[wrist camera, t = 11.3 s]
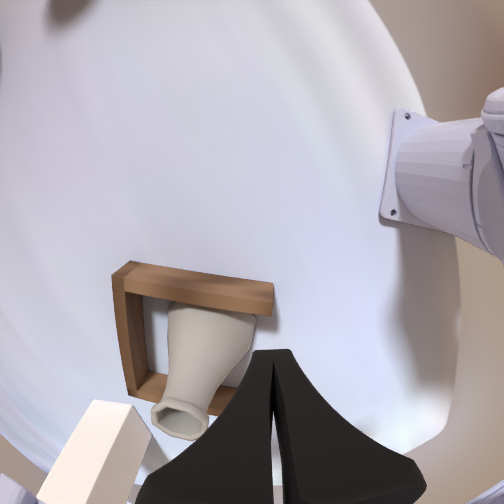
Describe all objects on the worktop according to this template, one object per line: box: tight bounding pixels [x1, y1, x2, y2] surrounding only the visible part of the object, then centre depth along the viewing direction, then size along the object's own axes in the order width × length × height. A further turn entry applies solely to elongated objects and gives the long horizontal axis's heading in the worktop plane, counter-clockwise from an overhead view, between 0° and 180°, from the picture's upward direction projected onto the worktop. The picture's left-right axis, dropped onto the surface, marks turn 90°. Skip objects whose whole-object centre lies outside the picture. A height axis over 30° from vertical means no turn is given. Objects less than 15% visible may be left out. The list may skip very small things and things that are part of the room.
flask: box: [151, 301, 257, 441], centre depth 17 cm, size 7×7×10 cm
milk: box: [36, 399, 152, 504], centre depth 16 cm, size 6×6×22 cm
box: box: [111, 261, 274, 416], centre depth 21 cm, size 11×12×3 cm
